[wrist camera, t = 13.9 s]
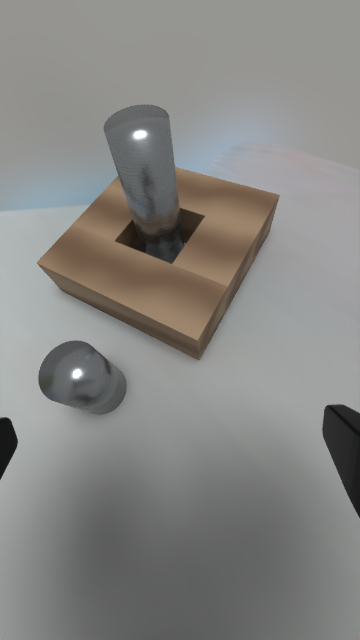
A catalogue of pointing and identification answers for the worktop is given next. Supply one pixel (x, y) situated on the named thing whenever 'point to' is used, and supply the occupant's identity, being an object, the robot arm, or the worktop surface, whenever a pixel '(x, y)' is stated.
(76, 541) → the worktop surface
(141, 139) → the long pin
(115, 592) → the worktop surface
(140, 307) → the plate
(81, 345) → the short pin
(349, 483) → the robot arm
